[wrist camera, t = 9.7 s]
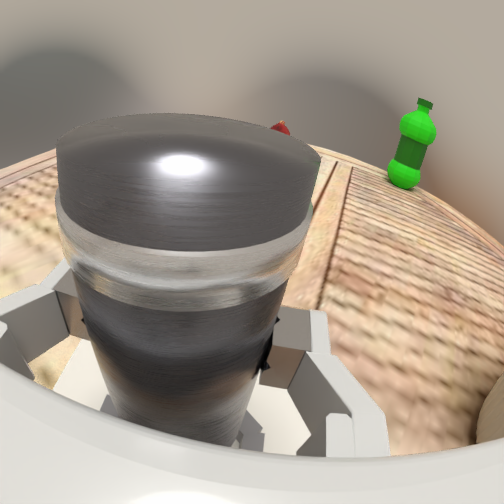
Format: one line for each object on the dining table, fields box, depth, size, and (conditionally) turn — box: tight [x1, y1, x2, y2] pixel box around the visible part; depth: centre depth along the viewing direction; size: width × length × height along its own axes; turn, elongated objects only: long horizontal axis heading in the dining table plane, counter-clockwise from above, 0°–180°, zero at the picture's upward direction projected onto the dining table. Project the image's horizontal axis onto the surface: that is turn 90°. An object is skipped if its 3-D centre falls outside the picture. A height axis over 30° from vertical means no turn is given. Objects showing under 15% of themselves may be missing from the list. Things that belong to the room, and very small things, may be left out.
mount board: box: [52, 339, 311, 455], centre depth 14 cm, size 18×18×2 cm
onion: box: [270, 121, 290, 136], centre depth 76 cm, size 6×6×8 cm
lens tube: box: [55, 113, 321, 447], centre depth 8 cm, size 5×5×11 cm
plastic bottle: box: [387, 98, 436, 189], centre depth 69 cm, size 10×10×25 cm
